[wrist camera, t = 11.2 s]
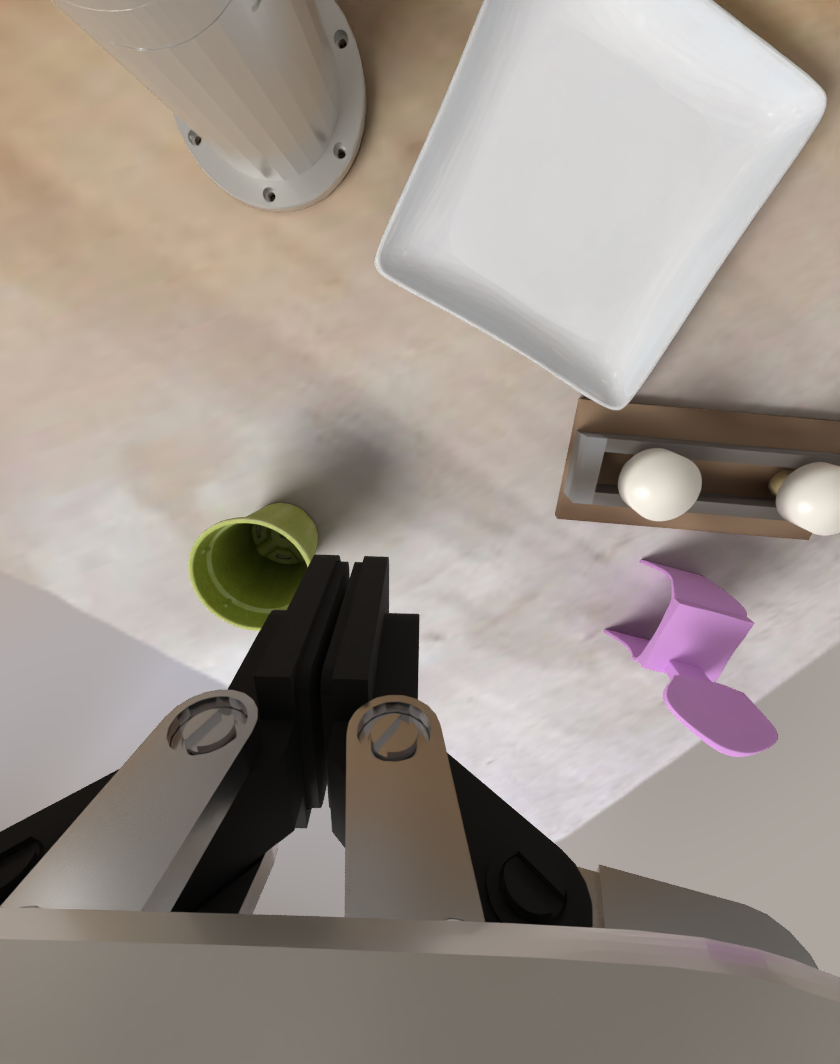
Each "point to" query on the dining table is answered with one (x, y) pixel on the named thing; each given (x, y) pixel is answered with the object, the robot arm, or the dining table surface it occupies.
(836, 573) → the dining table surface
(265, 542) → the plant pot
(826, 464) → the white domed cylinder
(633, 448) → the mount
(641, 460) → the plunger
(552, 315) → the salad plate
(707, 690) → the toy chair
